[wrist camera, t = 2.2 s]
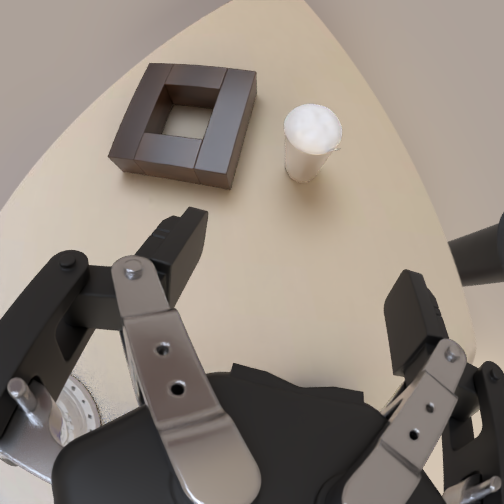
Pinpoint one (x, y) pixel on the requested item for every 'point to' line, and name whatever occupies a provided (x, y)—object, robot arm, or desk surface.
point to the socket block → (181, 148)
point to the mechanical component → (76, 411)
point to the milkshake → (309, 140)
